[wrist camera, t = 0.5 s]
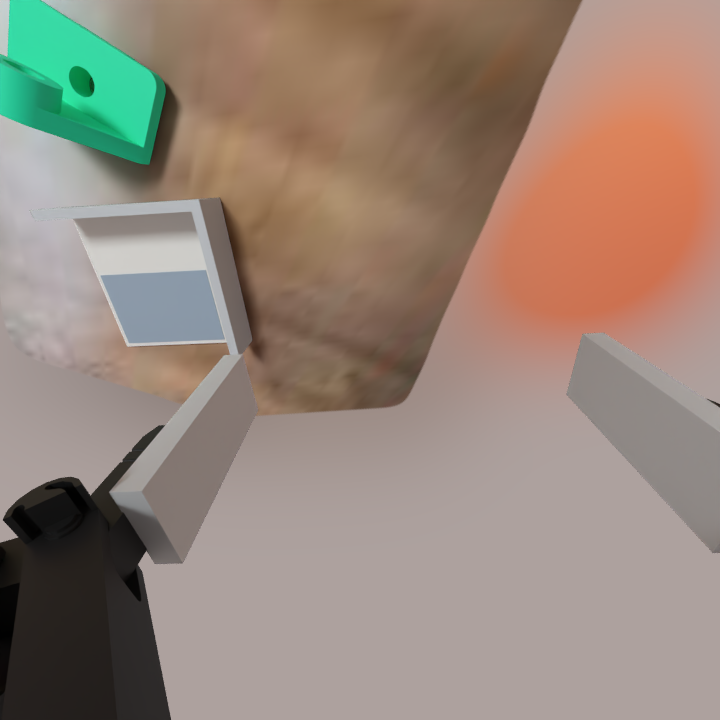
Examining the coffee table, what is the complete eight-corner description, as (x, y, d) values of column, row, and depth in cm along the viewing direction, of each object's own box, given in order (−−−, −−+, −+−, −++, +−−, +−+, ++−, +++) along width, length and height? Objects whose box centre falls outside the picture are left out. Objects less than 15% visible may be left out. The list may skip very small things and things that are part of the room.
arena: (70, 207, 37) (29, 210, 32) (219, 197, 36) (198, 199, 31) (129, 345, 44) (102, 362, 40) (252, 340, 44) (239, 357, 39)
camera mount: (174, 84, 31) (94, 43, 22) (155, 165, 35) (79, 158, 26) (39, -2, 29) (-113, -88, 20) (32, 94, 32) (-101, 58, 23)
